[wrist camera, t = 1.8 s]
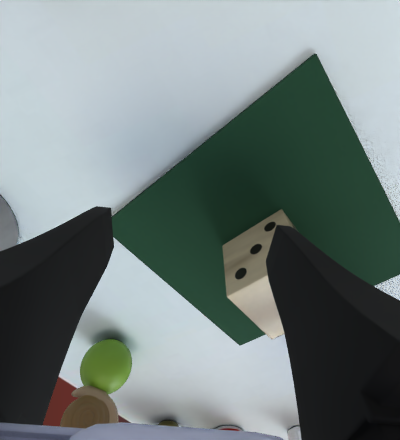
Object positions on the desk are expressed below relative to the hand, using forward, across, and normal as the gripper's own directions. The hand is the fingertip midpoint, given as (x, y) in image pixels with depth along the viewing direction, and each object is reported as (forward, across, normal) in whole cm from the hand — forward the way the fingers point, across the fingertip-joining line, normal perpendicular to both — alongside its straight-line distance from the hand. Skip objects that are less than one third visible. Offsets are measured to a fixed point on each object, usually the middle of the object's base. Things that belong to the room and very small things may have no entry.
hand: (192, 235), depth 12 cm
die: (+9, -7, +7) cm, 14 cm away
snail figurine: (+10, +7, +24) cm, 27 cm away
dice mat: (+10, -7, +7) cm, 14 cm away
